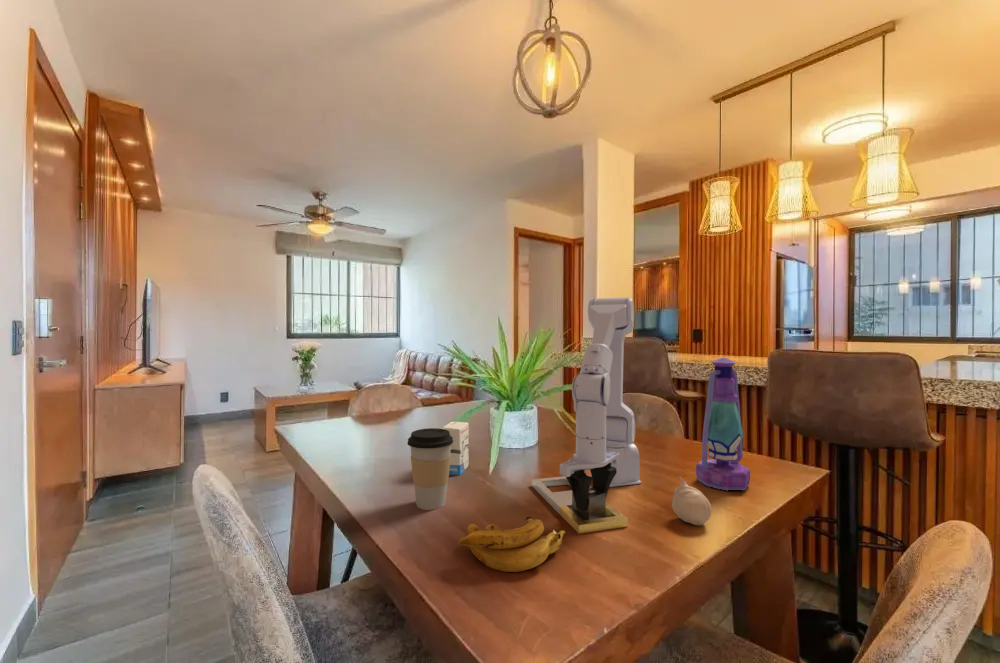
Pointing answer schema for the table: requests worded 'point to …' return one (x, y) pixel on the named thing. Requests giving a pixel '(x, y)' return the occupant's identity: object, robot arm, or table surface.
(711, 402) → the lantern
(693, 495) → the garlic bulb
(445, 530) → the table surface
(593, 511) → the grey knobbed block
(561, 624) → the table surface
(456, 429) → the ink box
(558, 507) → the plate with square hole
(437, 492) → the coffee cup
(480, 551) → the banana
